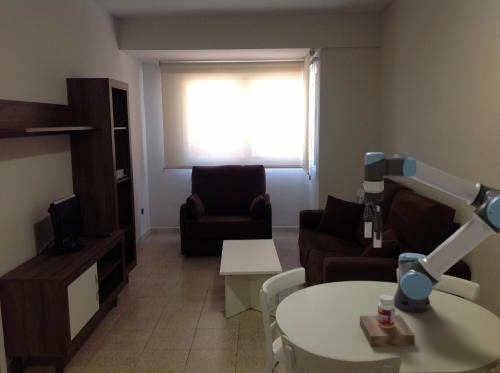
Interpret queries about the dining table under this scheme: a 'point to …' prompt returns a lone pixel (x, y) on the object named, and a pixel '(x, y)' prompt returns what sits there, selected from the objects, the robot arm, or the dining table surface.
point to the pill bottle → (386, 311)
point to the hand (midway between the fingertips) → (372, 242)
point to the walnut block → (387, 332)
